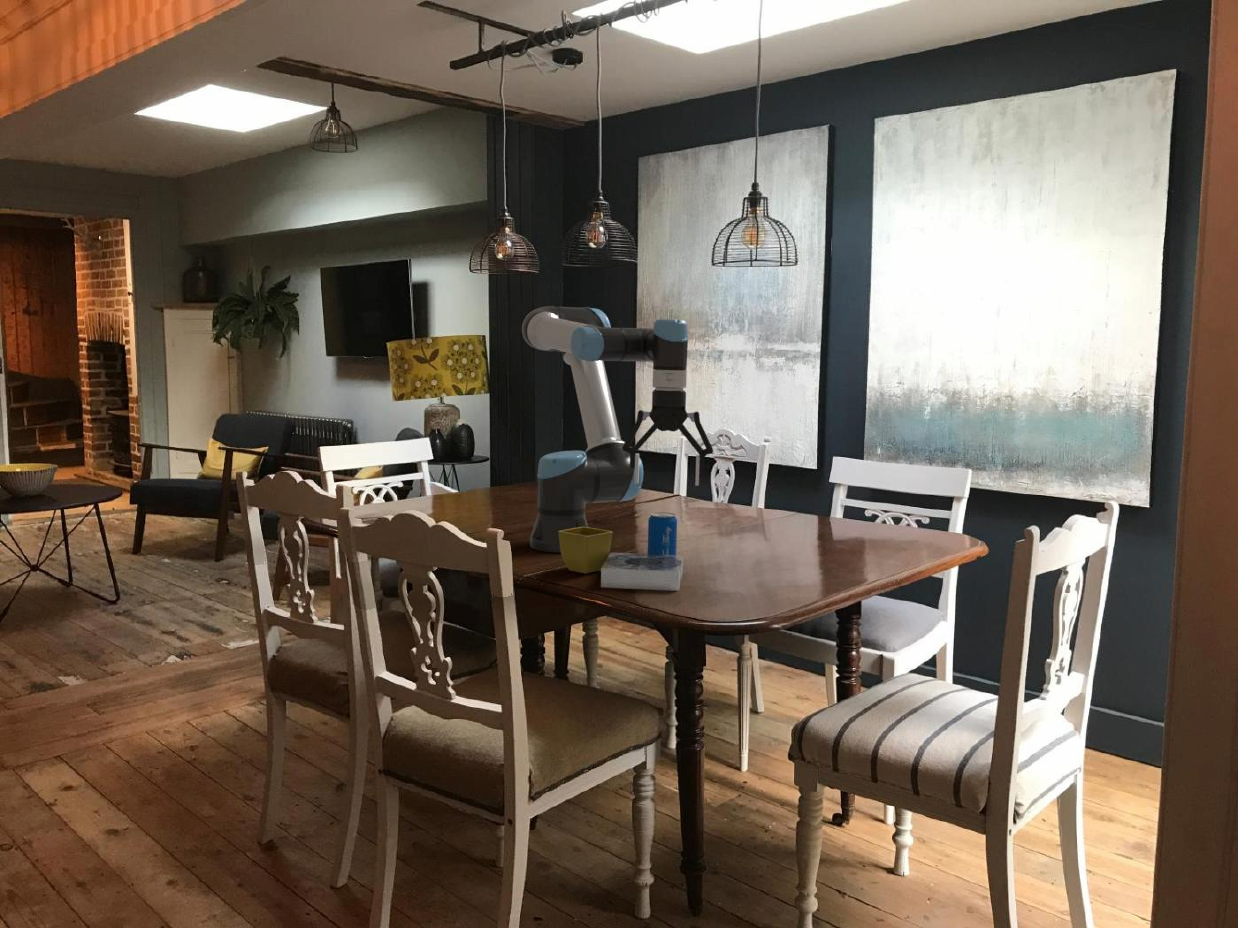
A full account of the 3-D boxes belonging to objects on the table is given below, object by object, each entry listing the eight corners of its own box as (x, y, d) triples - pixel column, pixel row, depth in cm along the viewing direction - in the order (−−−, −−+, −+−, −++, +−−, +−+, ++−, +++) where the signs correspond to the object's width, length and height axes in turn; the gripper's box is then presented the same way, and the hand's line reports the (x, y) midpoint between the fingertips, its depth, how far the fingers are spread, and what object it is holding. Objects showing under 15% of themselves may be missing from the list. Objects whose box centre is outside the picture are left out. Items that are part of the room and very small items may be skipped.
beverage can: (652, 570, 222) (653, 517, 221) (643, 564, 228) (645, 512, 227) (679, 569, 224) (681, 516, 222) (670, 563, 230) (672, 511, 229)
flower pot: (583, 564, 226) (583, 525, 225) (612, 570, 221) (613, 530, 220) (556, 571, 220) (557, 530, 219) (586, 577, 214) (587, 536, 213)
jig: (600, 587, 206) (601, 568, 205) (610, 570, 221) (610, 552, 221) (678, 590, 204) (679, 571, 203) (682, 573, 220) (682, 555, 219)
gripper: (611, 388, 219) (610, 484, 222) (726, 391, 217) (722, 487, 220) (614, 387, 227) (612, 479, 229) (725, 389, 225) (722, 483, 227)
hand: (666, 484), depth 225 cm, fingers open, 13 cm apart
